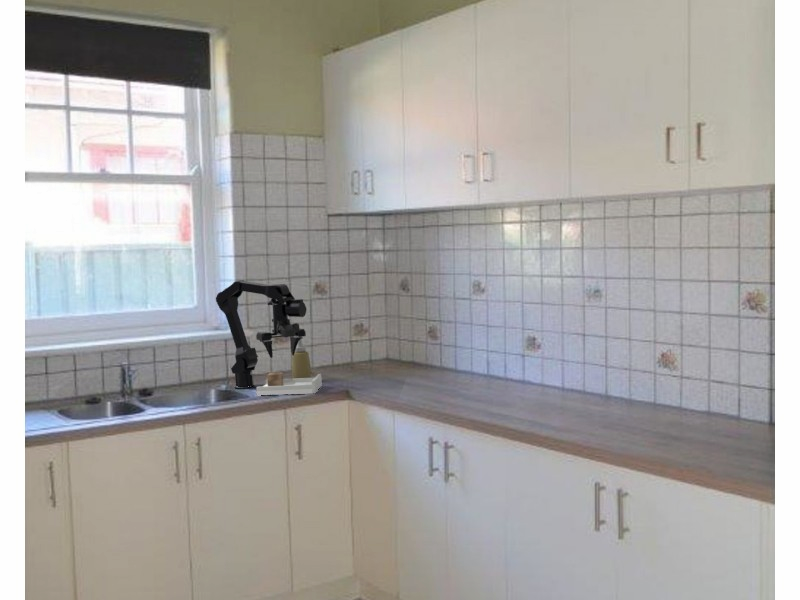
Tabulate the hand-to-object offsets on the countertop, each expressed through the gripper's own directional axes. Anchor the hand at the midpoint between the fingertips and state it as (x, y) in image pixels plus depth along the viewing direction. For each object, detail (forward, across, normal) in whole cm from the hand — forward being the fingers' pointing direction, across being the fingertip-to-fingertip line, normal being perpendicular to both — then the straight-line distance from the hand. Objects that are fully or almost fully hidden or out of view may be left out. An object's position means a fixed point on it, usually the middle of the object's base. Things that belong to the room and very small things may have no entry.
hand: (282, 356), depth 337 cm
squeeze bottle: (+13, +12, +8) cm, 19 cm away
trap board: (+13, -1, -7) cm, 14 cm away
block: (+11, -5, -4) cm, 12 cm away
